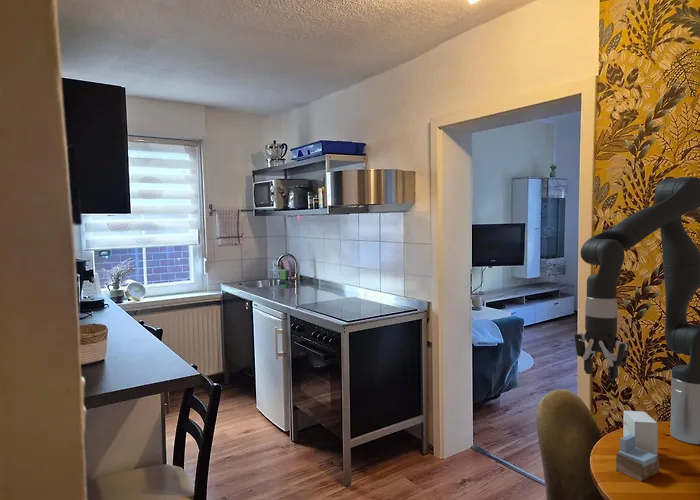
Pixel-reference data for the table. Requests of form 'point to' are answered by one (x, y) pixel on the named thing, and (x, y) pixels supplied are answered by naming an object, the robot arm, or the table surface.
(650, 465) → the case
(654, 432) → the small box
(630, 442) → the lid
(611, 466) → the table surface
